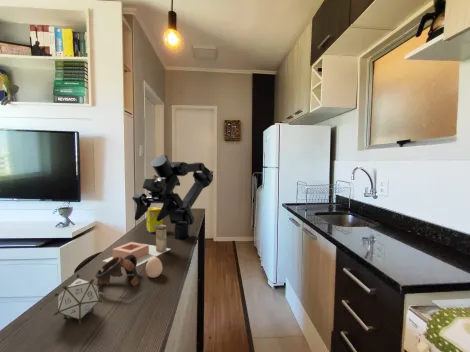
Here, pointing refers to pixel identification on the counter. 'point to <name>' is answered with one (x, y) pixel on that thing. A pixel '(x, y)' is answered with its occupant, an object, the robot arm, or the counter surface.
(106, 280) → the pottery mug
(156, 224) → the supplement box
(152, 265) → the egg
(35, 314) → the counter surface
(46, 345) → the counter surface
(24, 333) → the counter surface
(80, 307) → the game die
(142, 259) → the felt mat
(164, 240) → the dowel
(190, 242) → the counter surface
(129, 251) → the pink square ring
